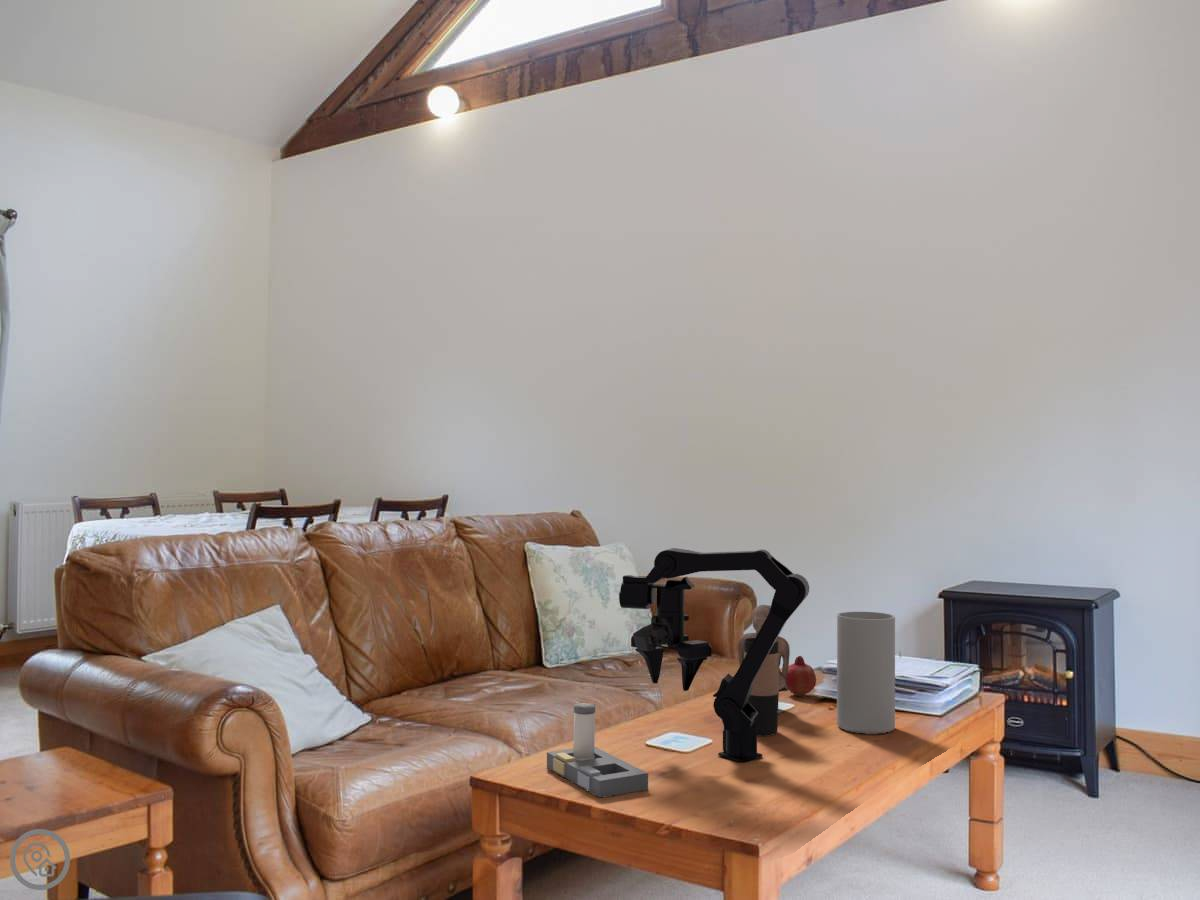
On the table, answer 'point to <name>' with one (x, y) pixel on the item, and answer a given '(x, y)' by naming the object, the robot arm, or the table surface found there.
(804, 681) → the fruit
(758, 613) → the clay figurine
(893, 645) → the cylinder vase
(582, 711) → the white dome-top cylinder
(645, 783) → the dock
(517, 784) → the table surface
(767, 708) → the travel mug
